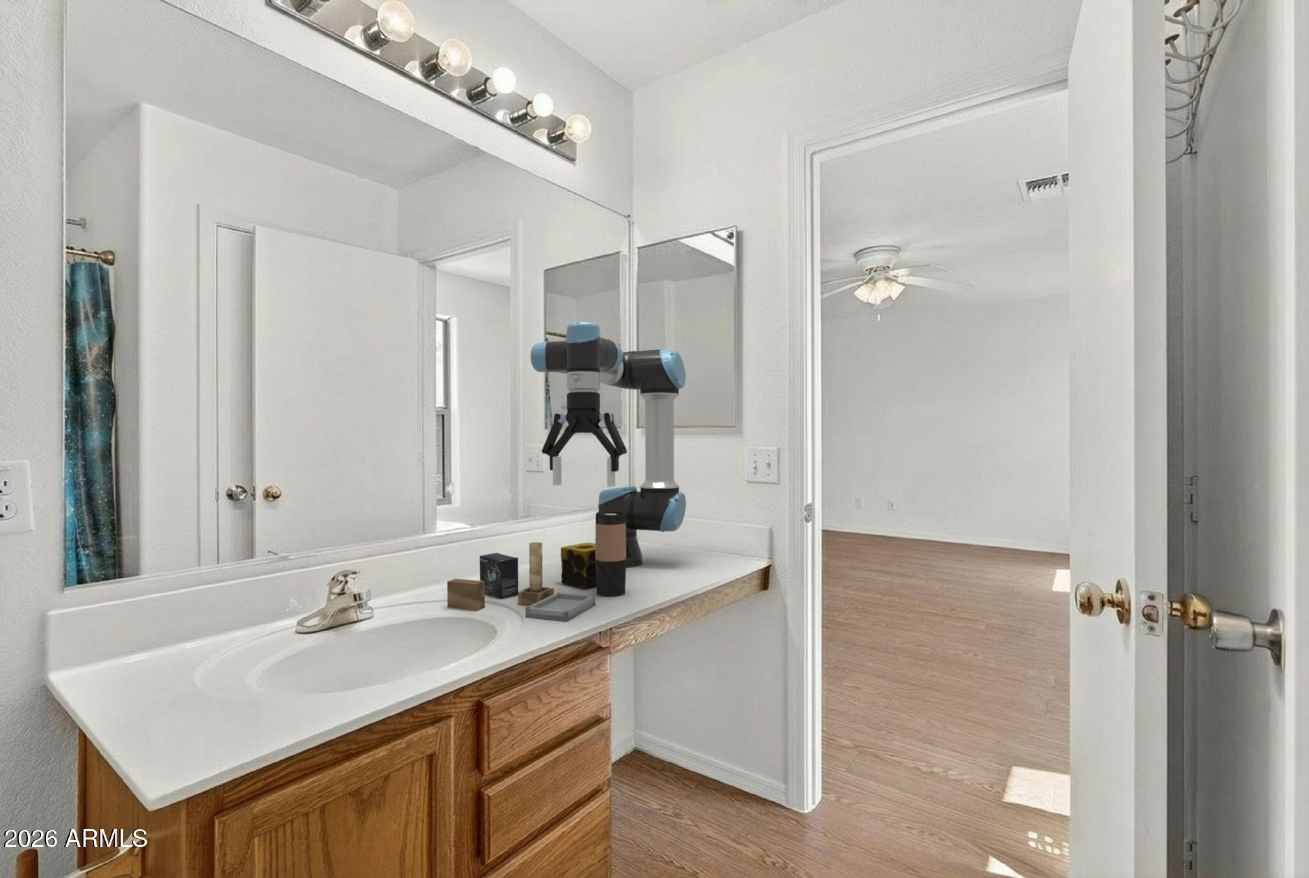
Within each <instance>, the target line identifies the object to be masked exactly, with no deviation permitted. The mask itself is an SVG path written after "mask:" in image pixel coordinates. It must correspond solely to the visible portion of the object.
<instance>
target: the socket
mask: <svg viewBox="0 0 1309 878" xmlns="http://www.w3.org/2000/svg"><path fill="white" fill-rule="evenodd" d="M554 590H555V589H554V587H547V586H542V592H540V593H536V592H530V589H529V586H528V587H526V588H524V589H522V590H518V595H517V605H518V606H519V605H520V606H526V607H528V606H530V605H533V604H535V603H537V602H539V601H541V600H543V599H545V598H547V597H549V596H551V595H553V594H555V593H554V592H555V591H554Z"/></svg>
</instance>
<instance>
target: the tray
mask: <svg viewBox="0 0 1309 878" xmlns="http://www.w3.org/2000/svg"><path fill="white" fill-rule="evenodd" d="M594 606H596V596H595V595H587V594H576V593H567V592H555V593H554V594H553V595H551V596H549V597H547V598H545V599H543V600H541V601H539V602H537V603H535V604H533V605H530V606H526V607H525V618H528V619H529V618H532V619H540V620H549V621H557V622H565V623H566V622H569V621H570V620H571V619H574V618H575V617H577V616H579V615H580V614H583V612H586V611H588V610H589V609H591V608H592V607H594Z"/></svg>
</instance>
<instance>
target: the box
mask: <svg viewBox="0 0 1309 878" xmlns="http://www.w3.org/2000/svg"><path fill="white" fill-rule="evenodd" d="M479 581H485V595H487V596H491V597H493V598H496V599H499V600H502V599H507V598H510V597H514V596H517V597H518V592H519V558H518V557H516V556H511V555H506V554H503V553H499V552H492V553H488V554H482V555H479Z"/></svg>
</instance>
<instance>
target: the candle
mask: <svg viewBox="0 0 1309 878" xmlns="http://www.w3.org/2000/svg"><path fill="white" fill-rule="evenodd" d="M595 560H596V559H595V543H594V542H584V543H583V542H582V543H577V544H571V545H565V546H562V547H560V561H561V573H560V577H561V584H562V585H565V586H568V587H569V586H570V587H572V588H579V589H580V590H592V589H595V588H596V562H595Z"/></svg>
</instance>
